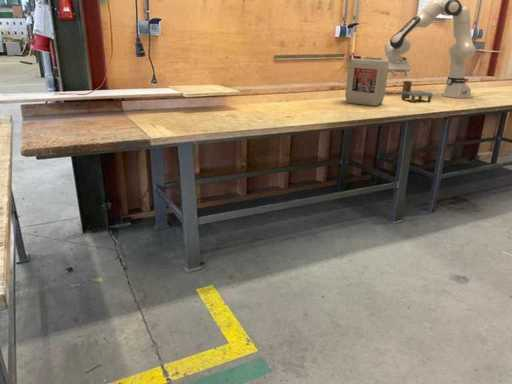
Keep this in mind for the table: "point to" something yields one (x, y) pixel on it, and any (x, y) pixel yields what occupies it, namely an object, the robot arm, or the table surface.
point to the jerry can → (366, 80)
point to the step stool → (417, 93)
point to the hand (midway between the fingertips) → (400, 76)
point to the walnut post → (406, 87)
